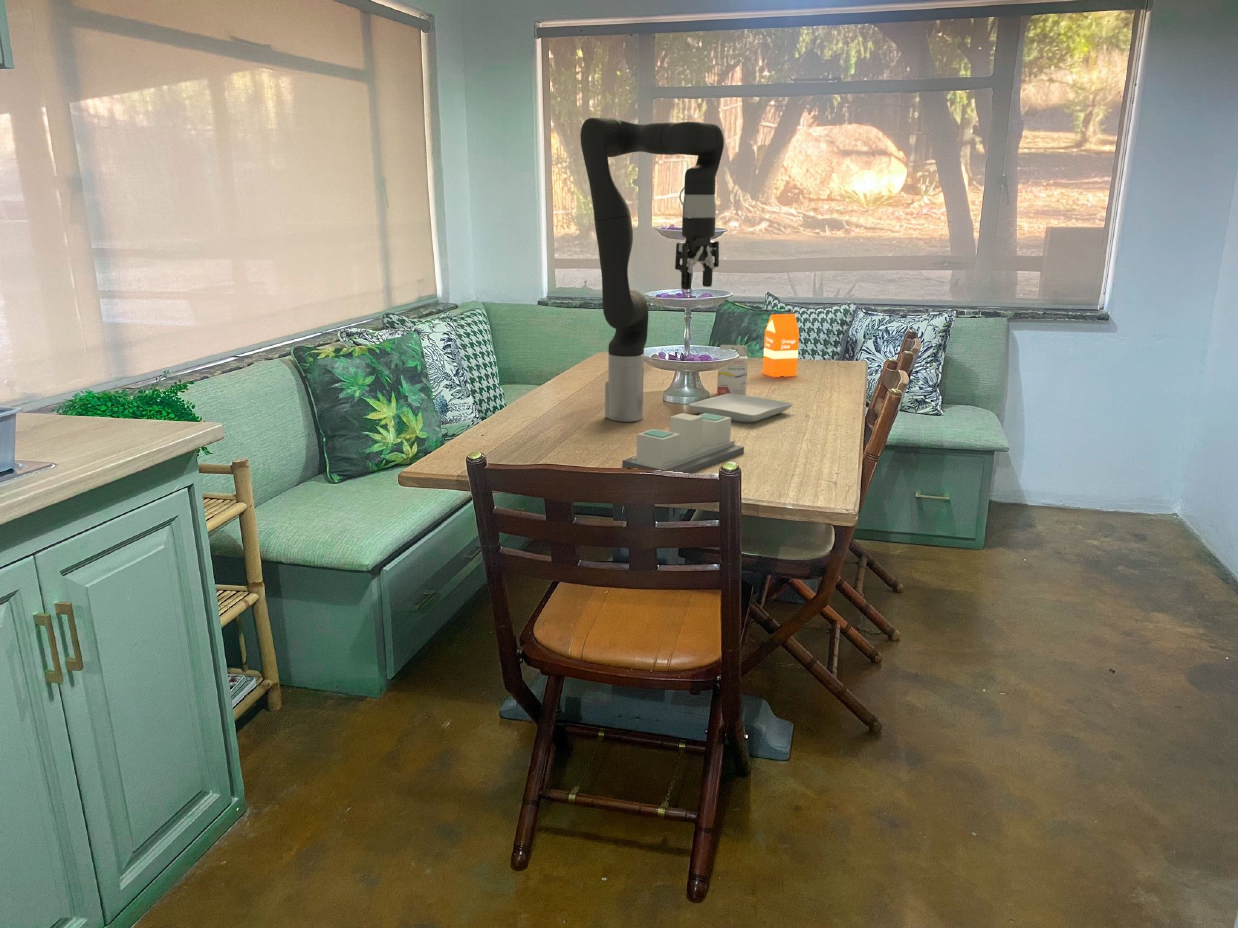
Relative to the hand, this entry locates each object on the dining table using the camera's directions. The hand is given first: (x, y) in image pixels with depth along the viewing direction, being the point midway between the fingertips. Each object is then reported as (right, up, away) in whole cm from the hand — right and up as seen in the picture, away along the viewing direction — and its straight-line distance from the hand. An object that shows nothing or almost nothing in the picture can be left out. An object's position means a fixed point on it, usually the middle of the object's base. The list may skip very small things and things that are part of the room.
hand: (696, 288), depth 209 cm
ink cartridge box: (+15, -21, +59) cm, 64 cm away
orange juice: (+36, -11, +91) cm, 99 cm away
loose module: (-3, -38, -9) cm, 40 cm away
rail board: (-3, -40, -8) cm, 41 cm away
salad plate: (+15, -28, +36) cm, 48 cm away
